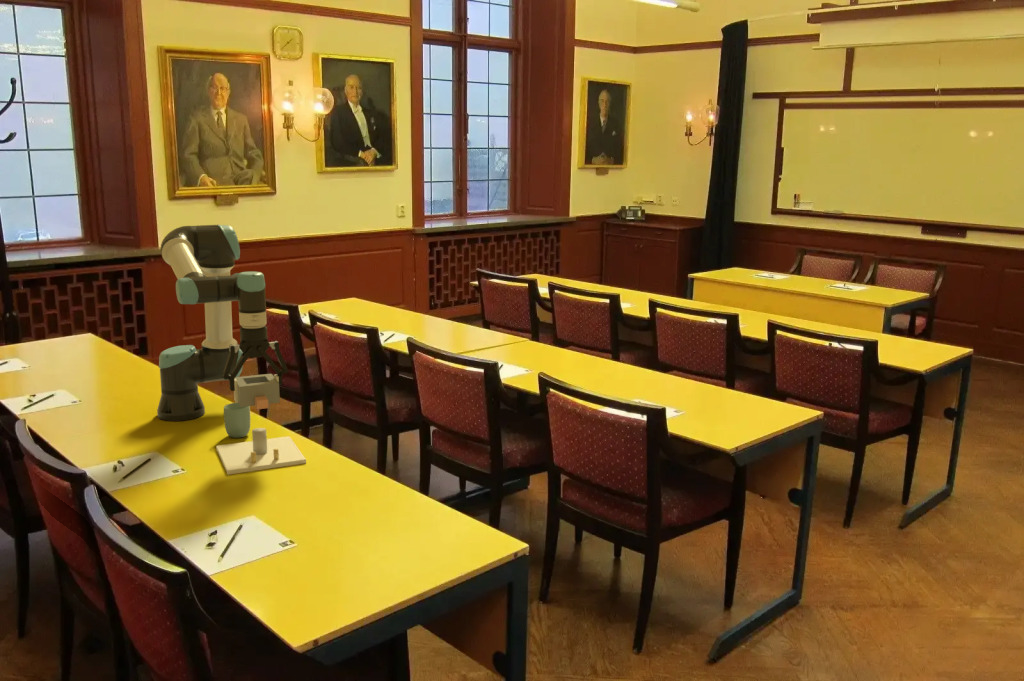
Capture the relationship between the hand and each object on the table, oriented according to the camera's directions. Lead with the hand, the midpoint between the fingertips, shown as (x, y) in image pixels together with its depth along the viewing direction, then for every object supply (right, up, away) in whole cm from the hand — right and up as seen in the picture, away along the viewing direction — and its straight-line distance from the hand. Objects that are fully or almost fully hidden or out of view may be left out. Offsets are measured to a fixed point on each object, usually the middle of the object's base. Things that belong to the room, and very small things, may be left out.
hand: (257, 398), depth 246 cm
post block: (0, -17, +4) cm, 18 cm away
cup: (-12, -14, +21) cm, 28 cm away
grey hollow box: (+1, -1, -2) cm, 2 cm away
